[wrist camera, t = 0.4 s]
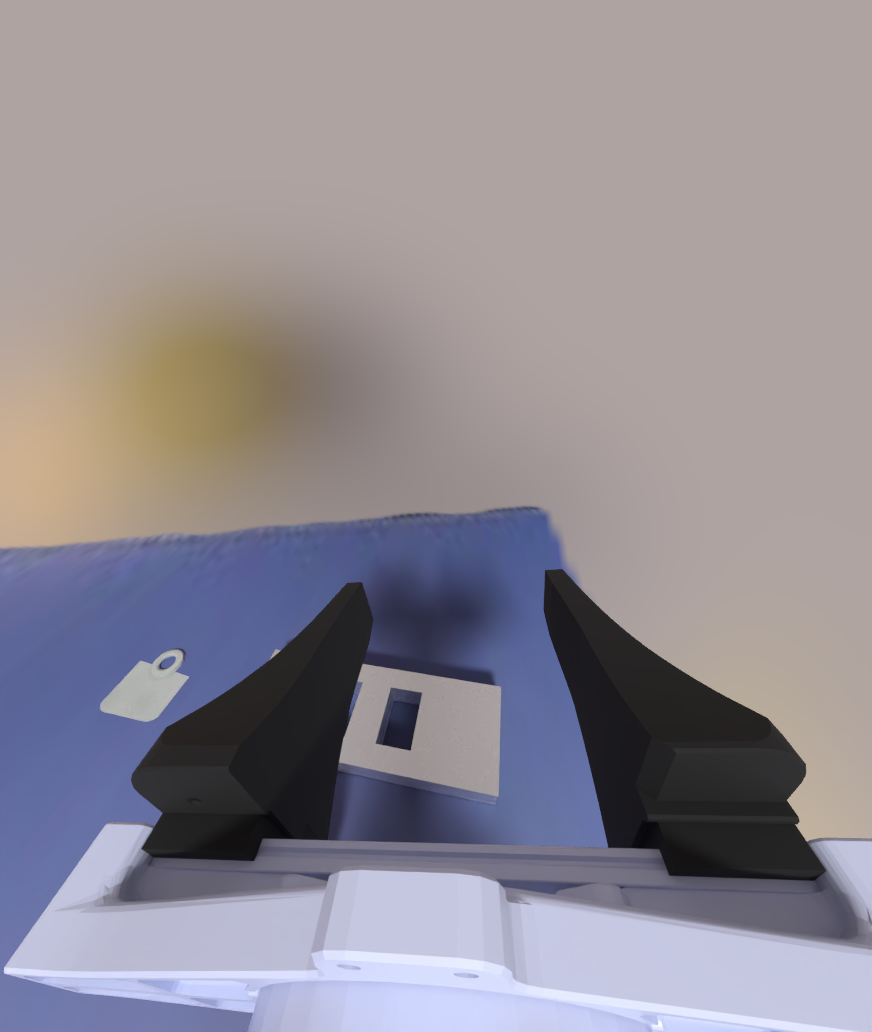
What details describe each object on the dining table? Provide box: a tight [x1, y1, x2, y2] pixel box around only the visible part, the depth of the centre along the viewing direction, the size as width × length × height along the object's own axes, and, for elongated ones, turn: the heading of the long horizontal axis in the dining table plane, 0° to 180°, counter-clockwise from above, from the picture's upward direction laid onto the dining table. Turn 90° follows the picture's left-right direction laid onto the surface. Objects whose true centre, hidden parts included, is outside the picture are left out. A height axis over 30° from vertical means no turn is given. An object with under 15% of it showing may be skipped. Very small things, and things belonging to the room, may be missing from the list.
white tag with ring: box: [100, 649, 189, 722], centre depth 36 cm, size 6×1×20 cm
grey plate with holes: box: [270, 650, 501, 806], centre depth 26 cm, size 7×20×2 cm, turn 80°
